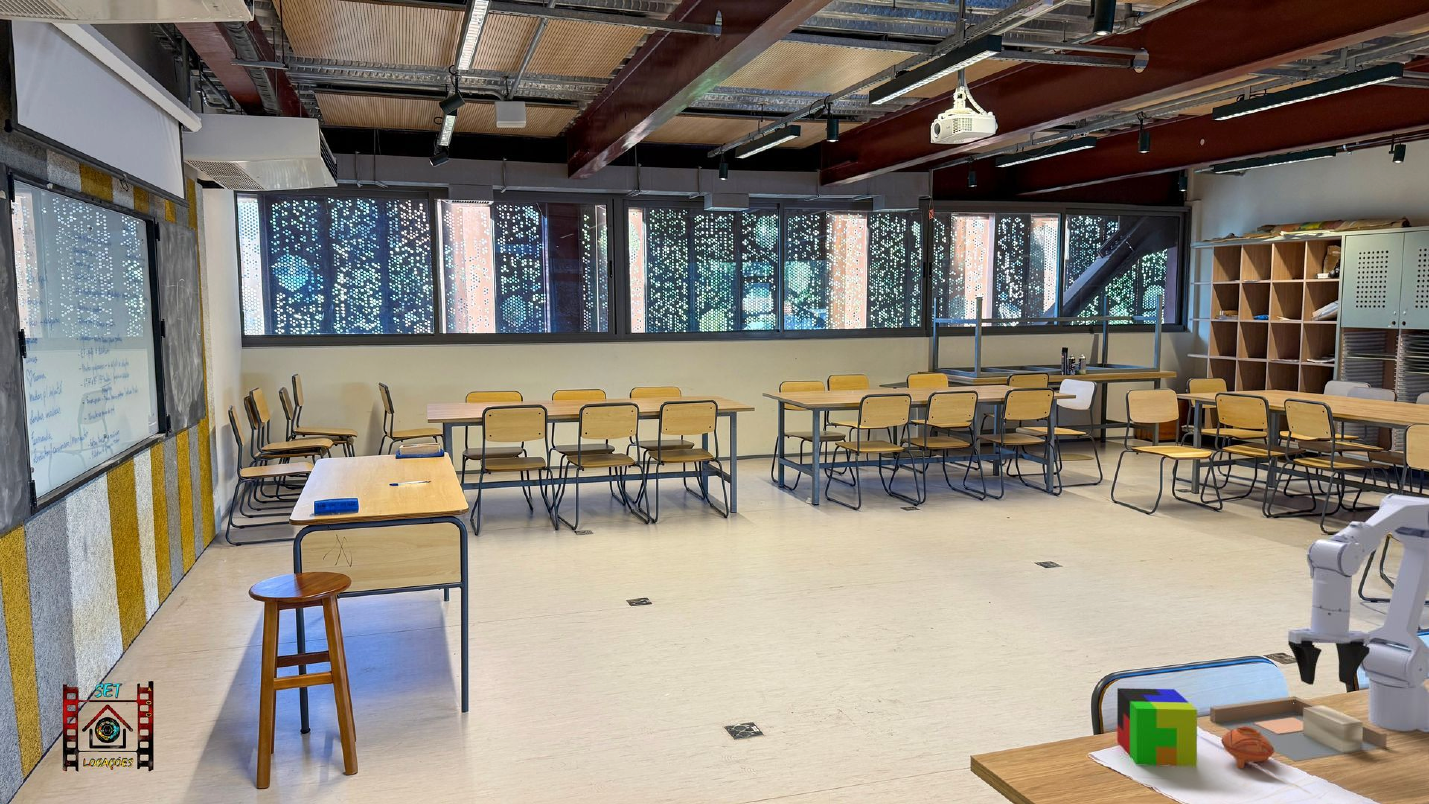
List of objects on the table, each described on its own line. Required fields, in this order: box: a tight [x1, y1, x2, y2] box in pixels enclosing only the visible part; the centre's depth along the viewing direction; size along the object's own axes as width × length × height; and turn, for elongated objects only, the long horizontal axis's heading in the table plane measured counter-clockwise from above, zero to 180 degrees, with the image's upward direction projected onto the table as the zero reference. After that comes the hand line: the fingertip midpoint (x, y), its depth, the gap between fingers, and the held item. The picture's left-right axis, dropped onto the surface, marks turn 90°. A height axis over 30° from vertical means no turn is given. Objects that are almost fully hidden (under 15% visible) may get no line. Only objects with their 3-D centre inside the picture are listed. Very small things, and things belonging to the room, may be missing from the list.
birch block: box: [1303, 704, 1364, 752], centre depth 167 cm, size 4×8×5 cm, turn 15°
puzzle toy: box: [1116, 687, 1198, 767], centre depth 165 cm, size 10×10×10 cm
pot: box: [1220, 726, 1275, 770], centre depth 160 cm, size 8×8×7 cm
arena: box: [1209, 695, 1388, 762], centre depth 171 cm, size 20×19×3 cm
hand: (1326, 683), depth 166 cm, fingers open, 7 cm apart
